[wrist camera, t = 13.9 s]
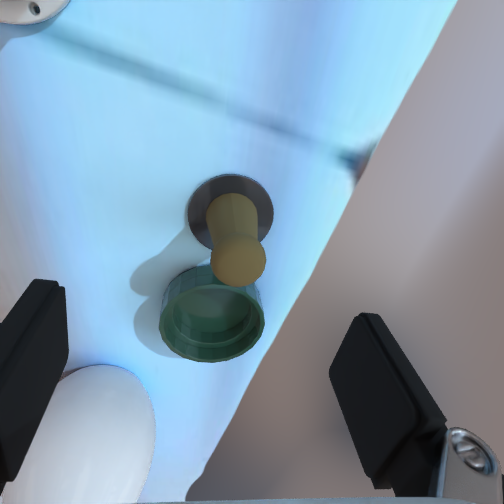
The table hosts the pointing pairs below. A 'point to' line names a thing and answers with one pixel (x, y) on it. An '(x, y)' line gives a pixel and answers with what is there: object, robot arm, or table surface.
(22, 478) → the pitcher
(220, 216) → the cork
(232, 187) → the coaster
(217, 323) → the bowl
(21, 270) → the table surface
